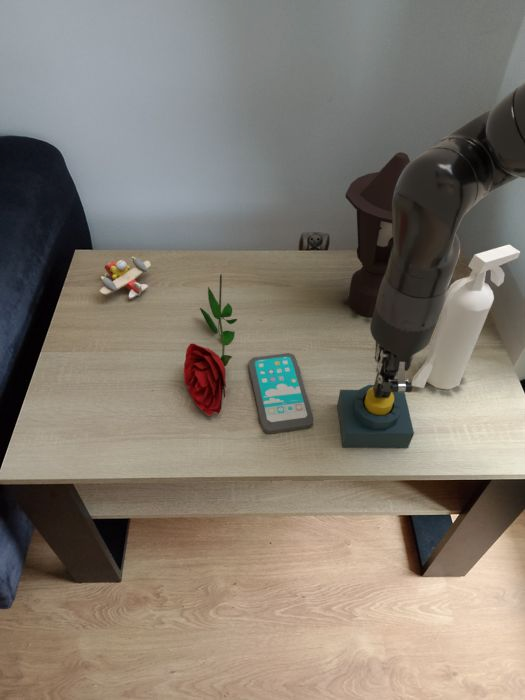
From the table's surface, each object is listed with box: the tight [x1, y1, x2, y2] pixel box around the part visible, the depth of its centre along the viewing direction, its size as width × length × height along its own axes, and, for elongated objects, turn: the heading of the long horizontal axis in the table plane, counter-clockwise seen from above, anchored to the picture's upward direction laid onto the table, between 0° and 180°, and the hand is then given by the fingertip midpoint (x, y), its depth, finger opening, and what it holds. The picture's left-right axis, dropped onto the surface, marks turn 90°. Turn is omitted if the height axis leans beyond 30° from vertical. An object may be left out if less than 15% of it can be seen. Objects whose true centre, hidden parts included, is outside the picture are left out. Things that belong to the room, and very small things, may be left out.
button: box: [364, 386, 394, 416], centre depth 75 cm, size 4×4×2 cm
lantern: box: [345, 151, 411, 318], centre depth 87 cm, size 15×15×30 cm
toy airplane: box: [99, 256, 151, 300], centre depth 98 cm, size 9×9×6 cm
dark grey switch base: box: [336, 384, 415, 449], centre depth 77 cm, size 10×8×6 cm
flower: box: [183, 273, 238, 417], centre depth 87 cm, size 9×10×30 cm
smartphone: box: [248, 352, 314, 434], centre depth 83 cm, size 9×1×15 cm
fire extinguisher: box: [411, 244, 521, 391], centre depth 77 cm, size 7×12×25 cm, turn 116°
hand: (380, 393), depth 74 cm, fingers closed
